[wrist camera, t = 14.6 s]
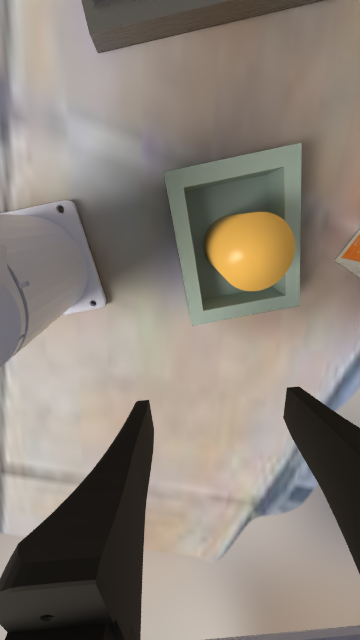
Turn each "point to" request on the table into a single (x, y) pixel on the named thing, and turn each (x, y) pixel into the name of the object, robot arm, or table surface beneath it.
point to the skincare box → (351, 255)
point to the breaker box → (166, 17)
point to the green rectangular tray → (229, 199)
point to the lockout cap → (250, 249)
